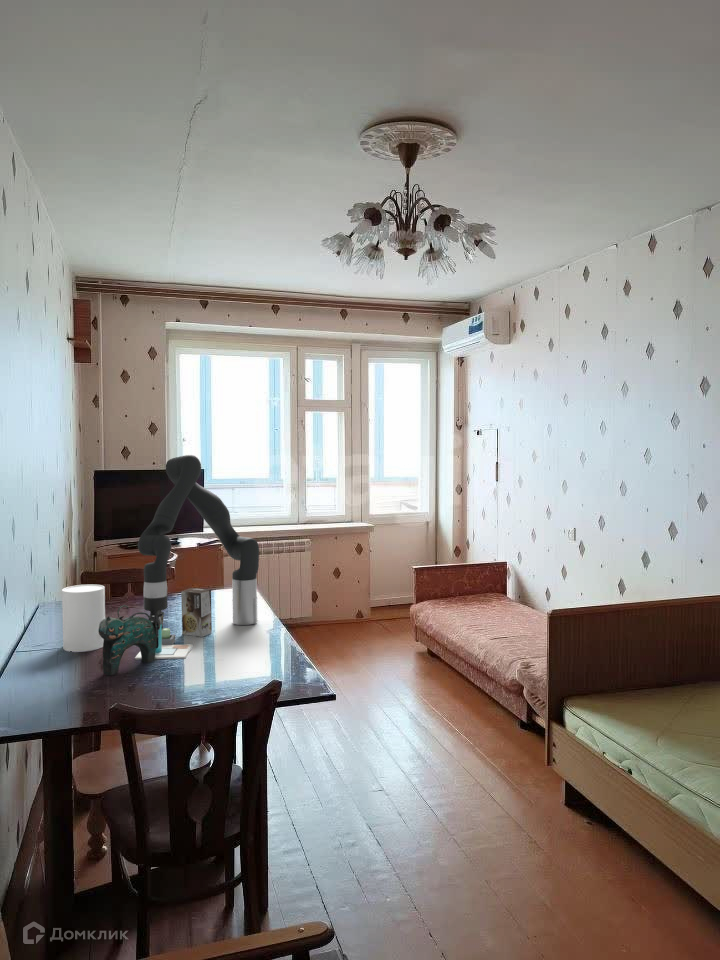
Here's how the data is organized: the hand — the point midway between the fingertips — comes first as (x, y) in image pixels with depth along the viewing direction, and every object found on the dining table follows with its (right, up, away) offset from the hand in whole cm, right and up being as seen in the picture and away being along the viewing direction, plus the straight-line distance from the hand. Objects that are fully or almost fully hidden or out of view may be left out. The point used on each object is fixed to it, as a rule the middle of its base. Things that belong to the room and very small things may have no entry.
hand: (156, 646), depth 234 cm
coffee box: (+8, -2, +25) cm, 26 cm away
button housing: (0, -2, +12) cm, 12 cm away
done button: (0, 0, +11) cm, 12 cm away
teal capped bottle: (0, -2, 0) cm, 2 cm away
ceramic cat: (-5, -4, -14) cm, 16 cm away
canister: (-27, -2, +9) cm, 29 cm away
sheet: (+2, -2, +1) cm, 4 cm away
